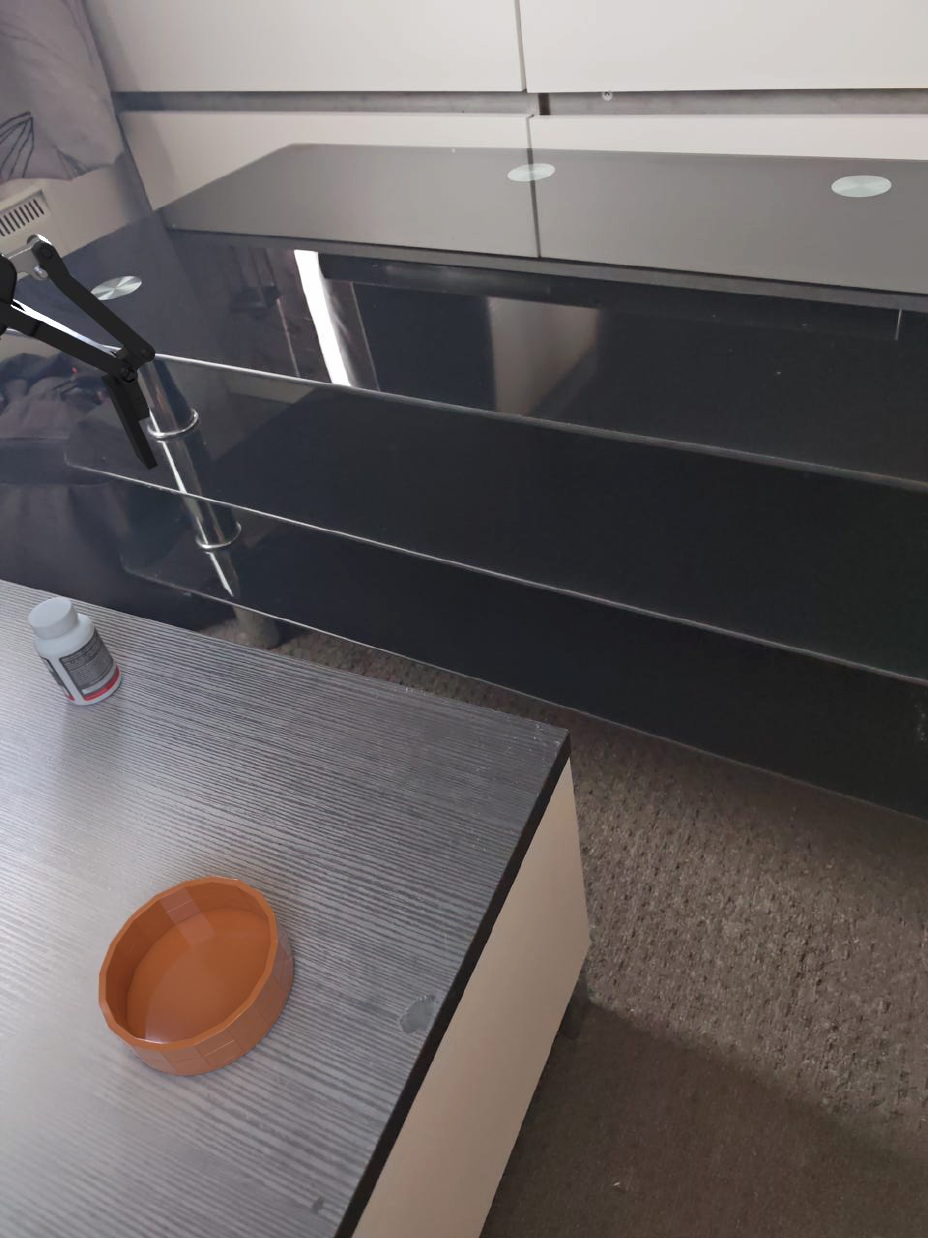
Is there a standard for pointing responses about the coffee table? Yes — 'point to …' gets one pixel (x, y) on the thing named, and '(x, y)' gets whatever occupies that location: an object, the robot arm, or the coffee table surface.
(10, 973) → the coffee table surface
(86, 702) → the pill bottle
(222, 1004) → the orange round bowl
